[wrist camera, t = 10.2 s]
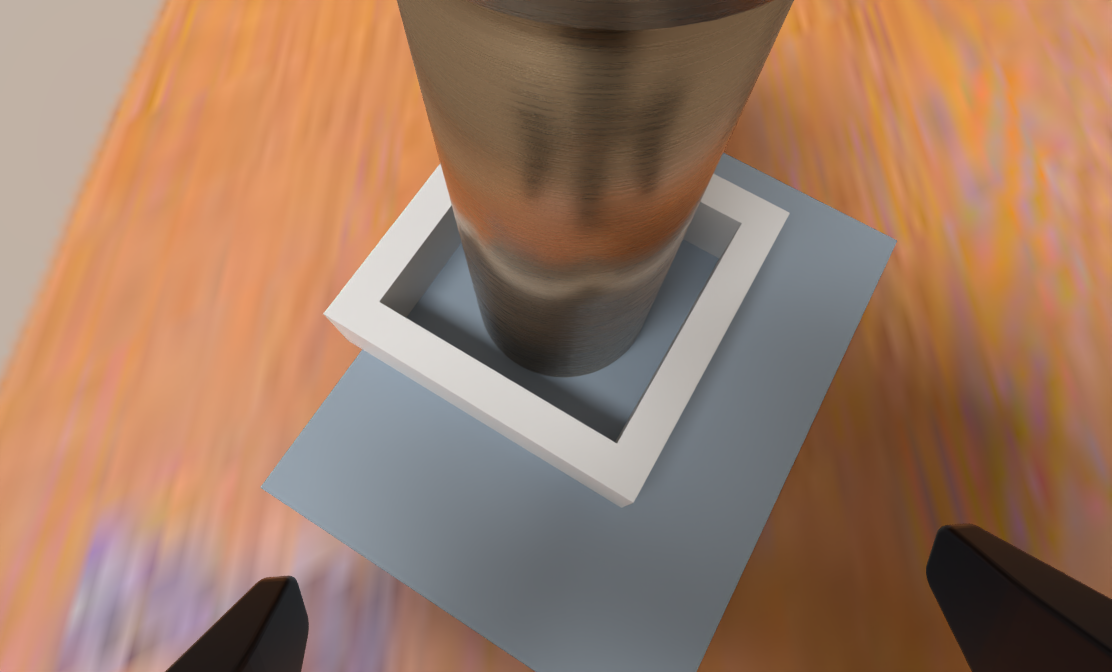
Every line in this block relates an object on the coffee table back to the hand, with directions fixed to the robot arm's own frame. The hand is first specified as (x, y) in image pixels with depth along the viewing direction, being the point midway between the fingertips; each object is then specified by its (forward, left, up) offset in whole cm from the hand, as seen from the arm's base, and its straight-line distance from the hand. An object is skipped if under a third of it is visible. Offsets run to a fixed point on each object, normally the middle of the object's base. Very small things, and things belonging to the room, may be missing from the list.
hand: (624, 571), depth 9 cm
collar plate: (+5, +2, -9) cm, 11 cm away
